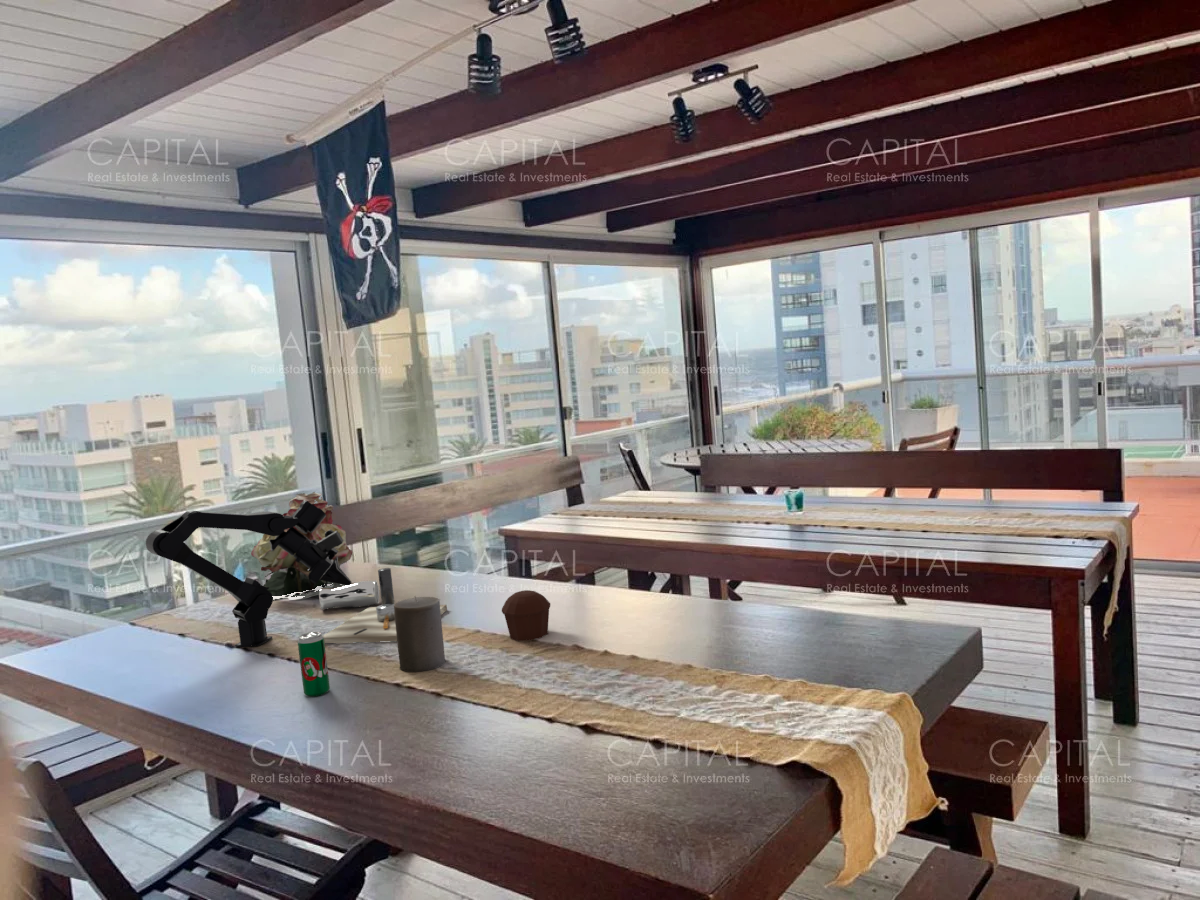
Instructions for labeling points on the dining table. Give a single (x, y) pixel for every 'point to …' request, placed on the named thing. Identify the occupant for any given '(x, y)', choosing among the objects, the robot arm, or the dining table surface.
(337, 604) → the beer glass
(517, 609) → the muffin
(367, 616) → the dial board
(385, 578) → the cam lever
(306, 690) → the soda can
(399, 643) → the pillar candle
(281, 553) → the rose bouquet
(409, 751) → the dining table surface
